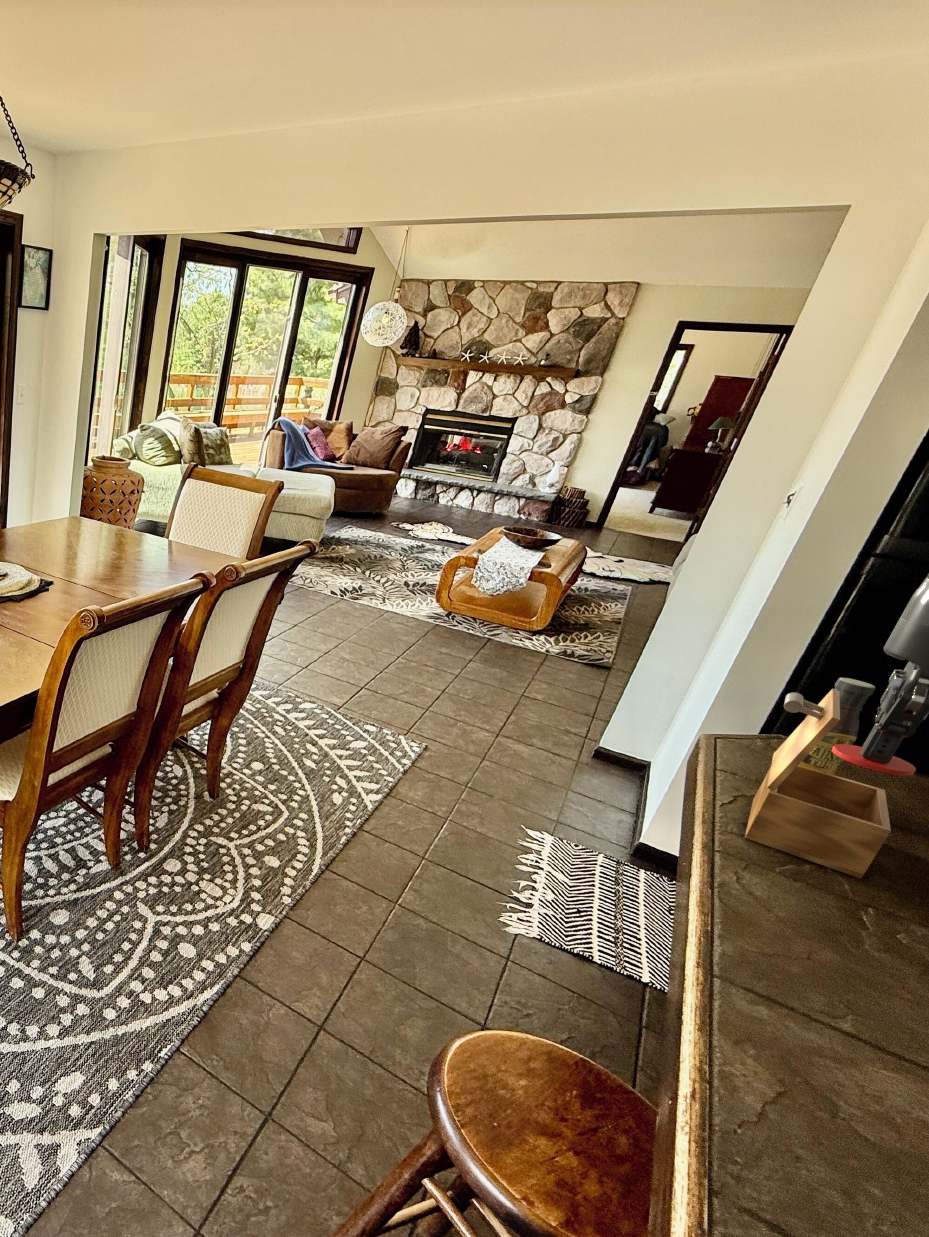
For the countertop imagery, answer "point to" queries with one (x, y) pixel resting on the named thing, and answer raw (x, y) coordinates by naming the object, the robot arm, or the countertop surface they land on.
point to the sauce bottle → (840, 726)
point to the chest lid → (803, 733)
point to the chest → (821, 819)
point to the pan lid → (856, 757)
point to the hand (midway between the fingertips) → (874, 756)
